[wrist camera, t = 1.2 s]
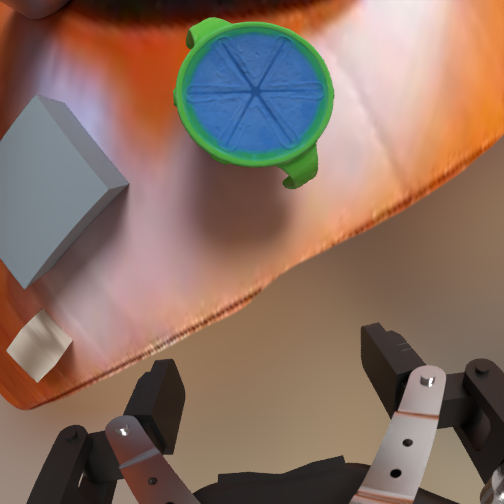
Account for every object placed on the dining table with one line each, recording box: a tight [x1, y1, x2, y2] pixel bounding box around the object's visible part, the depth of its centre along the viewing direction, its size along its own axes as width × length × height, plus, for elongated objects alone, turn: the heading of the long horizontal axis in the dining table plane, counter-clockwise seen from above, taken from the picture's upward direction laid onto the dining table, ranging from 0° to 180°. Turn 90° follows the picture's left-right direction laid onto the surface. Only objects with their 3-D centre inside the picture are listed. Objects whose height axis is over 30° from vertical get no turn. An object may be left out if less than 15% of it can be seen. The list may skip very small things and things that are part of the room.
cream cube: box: [6, 308, 73, 383], centre depth 30 cm, size 6×6×6 cm
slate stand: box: [0, 95, 129, 289], centre depth 25 cm, size 12×14×6 cm
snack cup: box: [173, 18, 334, 189], centre depth 23 cm, size 16×10×10 cm
